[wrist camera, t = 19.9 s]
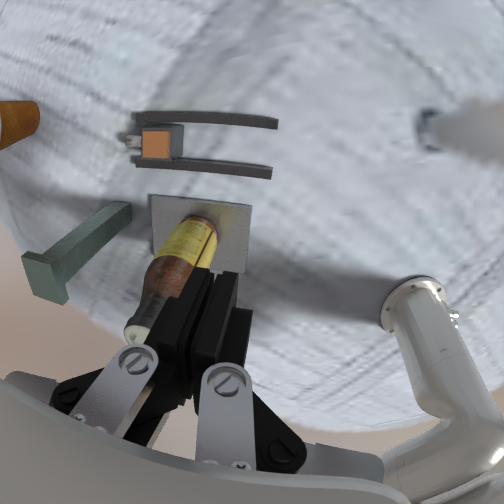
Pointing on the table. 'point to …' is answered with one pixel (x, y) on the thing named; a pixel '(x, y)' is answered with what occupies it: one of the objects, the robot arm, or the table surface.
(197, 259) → the sauce bottle
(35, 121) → the disposable coffee cup
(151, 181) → the table surface
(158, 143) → the orange-faced grey cube
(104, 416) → the robot arm
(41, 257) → the frame
